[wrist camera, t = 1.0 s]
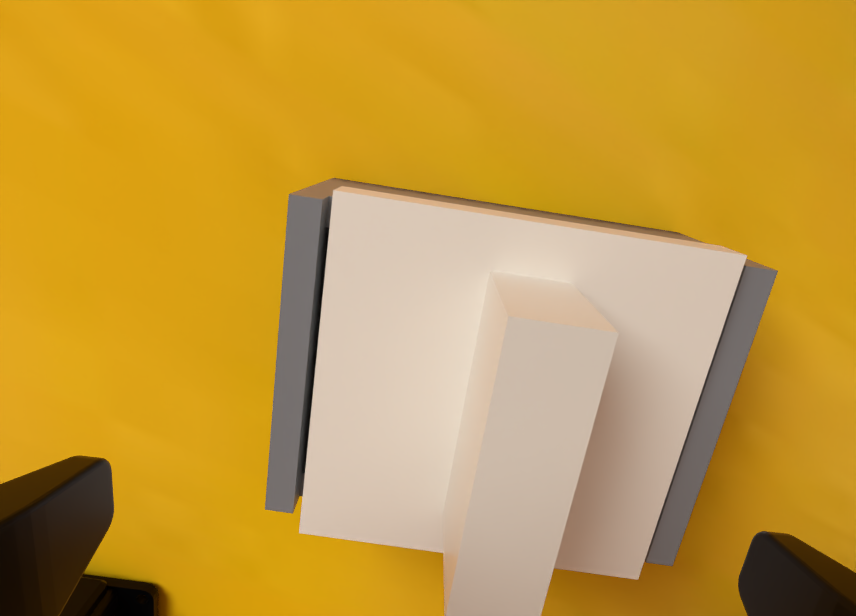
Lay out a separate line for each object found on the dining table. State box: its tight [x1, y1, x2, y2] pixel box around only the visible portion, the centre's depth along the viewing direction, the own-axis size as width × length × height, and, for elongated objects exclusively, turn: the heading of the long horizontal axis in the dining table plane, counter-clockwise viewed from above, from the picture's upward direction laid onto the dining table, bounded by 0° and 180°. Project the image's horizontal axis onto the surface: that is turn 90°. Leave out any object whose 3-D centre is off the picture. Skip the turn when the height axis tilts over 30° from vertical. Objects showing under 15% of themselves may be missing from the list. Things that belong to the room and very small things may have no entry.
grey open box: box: [265, 178, 778, 566], centre depth 17 cm, size 9×12×6 cm
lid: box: [299, 186, 747, 616], centre depth 13 cm, size 10×10×5 cm
